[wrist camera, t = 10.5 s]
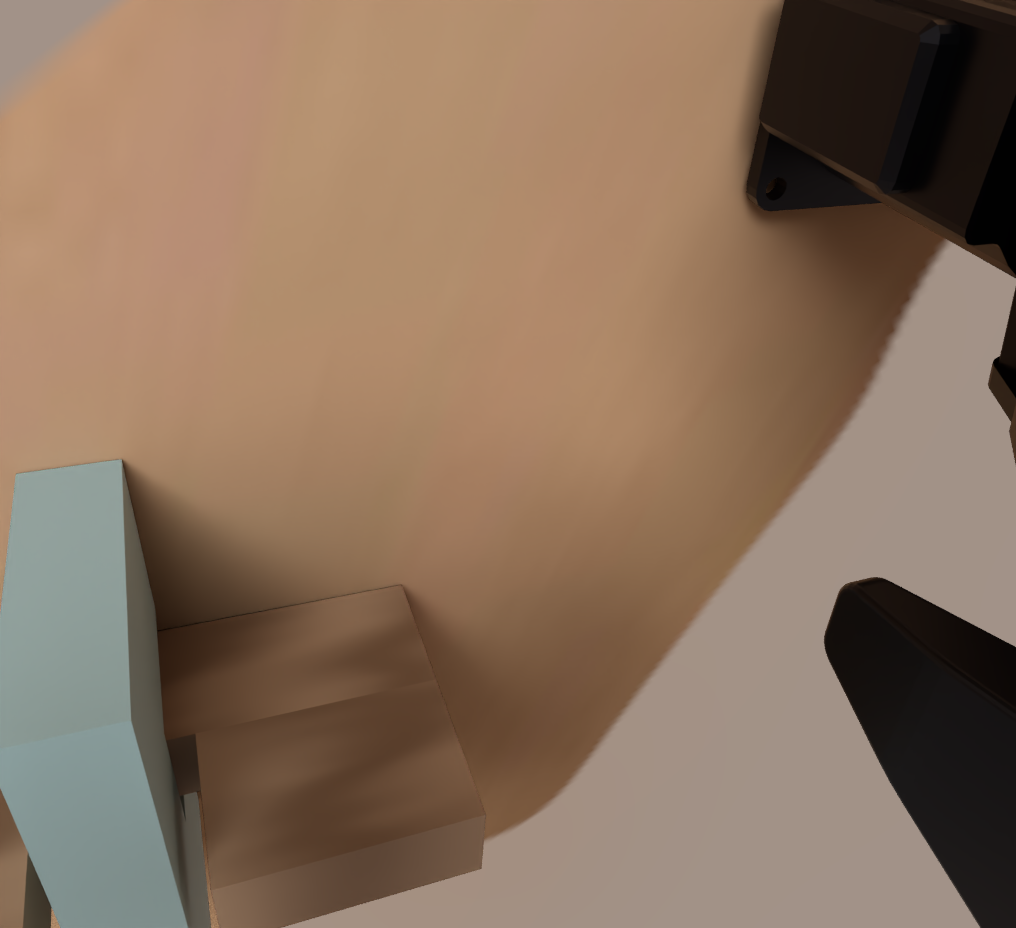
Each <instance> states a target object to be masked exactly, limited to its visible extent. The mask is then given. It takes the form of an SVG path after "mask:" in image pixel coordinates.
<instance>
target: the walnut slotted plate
mask: <svg viewBox="0 0 1016 928" xmlns="http://www.w3.org/2000/svg"><path fill="white" fill-rule="evenodd" d="M157 638H158V653H159V667H160V681H161V696H162V710H163V724H164V735H165V739H166V743H167V747H168V751H169V755H170V759H171V763H172V767H173V771H174V775H175V780H176V784H177V788H178V792H179V796H181V795H186V794H190V793H194V792H198V791H201V796H202V806H203V816H204V826H205V836H206V846H207V856H208V866H209V877H210V887H211V893H212V898H213V902H214V906H215V910H216V915H217V919H218V923H219V928H281V927H285V926H288V925H291V924H295V923H298V922H302V921H305V920H309V919H312V918H315V917H319V916H322V915H326V914H329V913H332V912H335V911H339V910H343V909H346V908H349V907H353V906H356V905H359V904H363V903H366V902H370V901H373V900H377V899H380V898H383V897H387V896H390V895H394V894H397V893H400V892H404V891H407V890H411V889H414V888H417V887H420V886H424V885H428V884H431V883H434V882H438V881H441V880H445V879H448V878H451V877H455V876H458V875H461V874H465V873H468V872H472V871H475V870H478V869H481V866H482V855H483V843H484V831H485V819H486V814H485V811H484V808H483V805H482V803H481V800H480V797H479V794H478V792H477V789H476V786H475V784H474V781H473V778H472V775H471V773H470V770H469V767H468V764H467V762H466V759H465V756H464V754H463V751H462V748H461V745H460V743H459V740H458V737H457V734H456V732H455V729H454V726H453V723H452V721H451V718H450V715H449V713H448V710H447V707H446V704H445V702H444V699H443V696H442V693H441V691H440V688H439V685H438V683H437V680H436V677H435V674H434V672H433V669H432V666H431V663H430V661H429V658H428V655H427V652H426V650H425V647H424V644H423V642H422V639H421V636H420V633H419V631H418V628H417V625H416V622H415V620H414V617H413V614H412V612H411V609H410V606H409V603H408V601H407V598H406V595H405V592H404V590H403V587H402V585H398V586H393V587H388V588H383V589H377V590H372V591H367V592H362V593H356V594H351V595H346V596H341V597H335V598H330V599H325V600H320V601H315V602H309V603H304V604H299V605H294V606H288V607H283V608H278V609H273V610H267V611H262V612H257V613H252V614H246V615H241V616H236V617H231V618H226V619H220V620H215V621H210V622H205V623H199V624H194V625H189V626H184V627H178V628H173V629H168V630H163V631H158V632H157ZM0 928H51V904H50V902H49V900H48V897H47V895H46V893H45V890H44V888H43V886H42V884H41V881H40V879H39V877H38V874H37V872H36V870H35V867H34V865H33V863H32V860H31V858H30V856H29V853H28V851H27V849H26V846H25V844H24V842H23V840H22V837H21V835H20V833H19V830H18V828H17V826H16V823H15V821H14V819H13V816H12V814H11V812H10V809H9V807H8V805H7V803H6V800H5V798H4V796H3V793H2V791H1V789H0Z"/></svg>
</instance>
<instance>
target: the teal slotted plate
mask: <svg viewBox="0 0 1016 928" xmlns="http://www.w3.org/2000/svg"><path fill="white" fill-rule="evenodd" d="M0 789H1V791H2V793H3V796H4V798H5V800H6V803H7V805H8V807H9V809H10V812H11V814H12V816H13V819H14V821H15V823H16V826H17V828H18V830H19V833H20V835H21V837H22V840H23V842H24V844H25V846H26V849H27V851H28V853H29V856H30V858H31V860H32V863H33V865H34V867H35V870H36V872H37V874H38V877H39V879H40V881H41V884H42V886H43V888H44V890H45V893H46V895H47V897H48V900H49V902H50V904H51V907H52V909H53V911H54V914H55V916H56V918H57V921H58V923H59V925H60V928H211V922H210V911H209V901H208V891H207V881H206V871H205V861H204V850H203V840H202V830H201V820H200V810H199V800H198V796H197V792H194V793H190V794H186V795H181V796H179V792H178V788H177V784H176V780H175V775H174V771H173V767H172V763H171V759H170V755H169V751H168V747H167V743H166V739H165V735H164V724H163V710H162V696H161V681H160V667H159V653H158V638H157V624H156V610H155V605H154V601H153V596H152V592H151V588H150V583H149V579H148V574H147V570H146V565H145V561H144V557H143V552H142V548H141V543H140V539H139V534H138V530H137V526H136V521H135V517H134V512H133V508H132V504H131V499H130V495H129V490H128V486H127V481H126V477H125V473H124V468H123V464H122V459H120V460H113V461H105V462H98V463H91V464H84V465H77V466H69V467H62V468H55V469H48V470H40V471H33V472H26V473H19V474H16V478H15V487H14V496H13V505H12V514H11V523H10V532H9V541H8V550H7V558H6V567H5V576H4V585H3V594H2V603H1V612H0Z"/></svg>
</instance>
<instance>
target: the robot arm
mask: <svg viewBox="0 0 1016 928" xmlns="http://www.w3.org/2000/svg"><path fill="white" fill-rule="evenodd" d="M775 178H776V184H775V186H774V188H773V189H772V190H771V191H770V192H768V193H766V189H767V186H768V184H769V183H770V182H771V181H772V180H773V179H775ZM746 192H747V195H748V198H749V200H751V201H752V202H753V203H754V204H756V205H757V206H759V207H760V208H762V209H763V210H767V211H779V210H793V209H806V208H819V207H833V206H846V205H859V204H872V203H884V204H886V205H887V206H889V207H891V208H893V209H895V210H896V211H898V212H900V213H902V214H903V215H905V216H907V217H909V218H910V219H912V220H914V221H916V222H917V223H919V224H921V225H923V226H924V227H926V228H928V229H930V230H931V231H933V232H935V233H937V234H939V235H940V236H942V237H944V238H946V239H947V240H949V241H951V242H953V243H954V244H956V245H958V246H960V247H961V248H963V249H965V250H967V251H969V252H970V253H972V254H974V255H976V256H977V257H979V258H981V259H983V260H984V261H986V262H988V263H990V264H991V265H993V266H995V267H997V268H999V269H1000V270H1002V271H1004V272H1005V273H1007V274H1009V275H1011V276H1013V277H1014V278H1016V0H785V1H784V5H783V10H782V15H781V19H780V24H779V28H778V33H777V38H776V42H775V47H774V51H773V56H772V61H771V65H770V70H769V75H768V79H767V84H766V88H765V93H764V98H763V102H762V107H761V112H760V126H759V130H758V135H757V139H756V144H755V149H754V153H753V158H752V162H751V167H750V171H749V176H748V181H747V191H746ZM988 386H989V389H990V390H991V392H992V393H993V395H994V396H995V398H996V399H997V401H998V402H999V404H1000V405H1001V407H1002V409H1003V410H1004V412H1005V413H1006V415H1007V416H1008V418H1009V419H1010V421H1011V426H1010V430H1009V432H1010V438H1011V443H1012V448H1013V453H1014V458H1015V463H1016V288H1015V293H1014V297H1013V301H1012V306H1011V310H1010V315H1009V319H1008V324H1007V328H1006V333H1005V337H1004V342H1003V346H1002V350H1001V355H1000V356H999V357H997V358H996V359H995V360H994V361H993V364H992V369H991V373H990V378H989V383H988ZM824 644H825V650H826V654H827V657H828V659H829V661H830V663H831V665H832V667H833V669H834V671H835V674H836V676H837V678H838V679H839V682H840V683H841V686H842V688H843V690H844V692H845V694H846V696H847V698H848V700H849V702H850V704H851V706H852V708H853V710H854V712H855V714H856V716H857V718H858V720H859V722H860V724H861V726H862V728H863V730H864V732H865V734H866V736H867V738H868V740H869V742H870V744H871V746H872V748H873V750H874V752H875V754H876V756H877V758H878V760H879V762H880V764H881V766H882V768H883V770H884V771H885V774H886V775H887V777H888V779H889V781H890V783H891V784H892V786H893V788H894V789H895V791H896V793H897V795H898V796H899V798H900V799H901V801H902V803H903V805H904V806H905V808H906V809H907V811H908V813H909V814H910V816H911V817H912V819H913V821H914V822H915V824H916V825H917V827H918V829H919V830H920V832H921V834H922V835H923V837H924V838H925V840H926V841H927V843H928V845H929V846H930V848H931V849H932V851H933V853H934V854H935V856H936V858H937V859H938V861H939V862H940V864H941V865H942V867H943V868H944V870H945V872H946V874H947V875H948V877H949V878H950V880H951V881H952V883H953V885H954V886H955V888H956V889H957V891H958V893H959V894H960V896H961V897H962V899H963V901H964V902H965V904H966V906H967V907H968V909H969V910H970V912H971V913H972V915H973V917H974V918H975V920H976V922H977V923H978V925H979V926H980V928H1016V647H1015V646H1013V645H1011V644H1009V643H1007V642H1005V641H1003V640H1001V639H999V638H997V637H996V636H993V635H992V634H990V633H988V632H986V631H984V630H982V629H980V628H978V627H976V626H974V625H972V624H971V623H969V622H967V621H965V620H963V619H961V618H959V617H957V616H955V615H953V614H951V613H950V612H948V611H946V610H944V609H942V608H940V607H938V606H936V605H934V604H932V603H931V602H929V601H926V600H925V599H923V598H921V597H919V596H917V595H915V594H913V593H911V592H909V591H908V590H906V589H904V588H902V587H900V586H898V585H896V584H894V583H892V582H890V581H888V580H886V579H883V578H878V577H873V578H867V579H863V580H859V581H855V582H850V583H848V584H845V585H844V586H843V587H842V588H841V589H840V591H839V593H838V596H837V599H836V602H835V605H834V608H833V611H832V614H831V617H830V620H829V623H828V626H827V629H826V631H825V636H824Z"/></svg>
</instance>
